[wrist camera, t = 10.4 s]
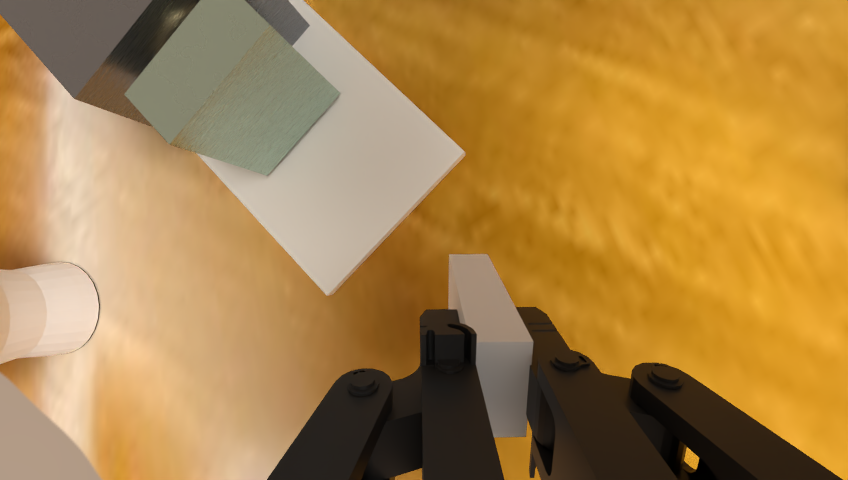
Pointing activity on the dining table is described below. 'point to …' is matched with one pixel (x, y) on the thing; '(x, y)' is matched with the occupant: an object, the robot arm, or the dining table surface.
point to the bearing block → (115, 40)
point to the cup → (45, 310)
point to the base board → (345, 165)
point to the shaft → (231, 88)
